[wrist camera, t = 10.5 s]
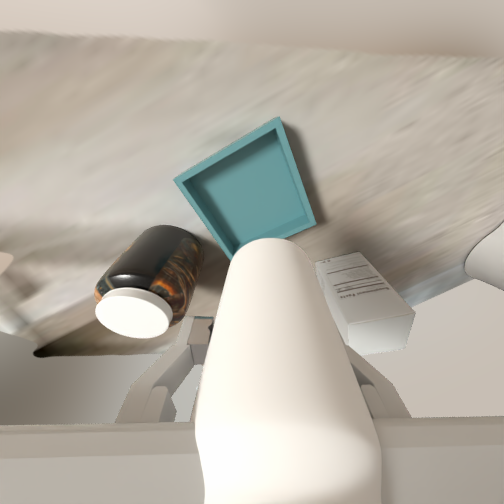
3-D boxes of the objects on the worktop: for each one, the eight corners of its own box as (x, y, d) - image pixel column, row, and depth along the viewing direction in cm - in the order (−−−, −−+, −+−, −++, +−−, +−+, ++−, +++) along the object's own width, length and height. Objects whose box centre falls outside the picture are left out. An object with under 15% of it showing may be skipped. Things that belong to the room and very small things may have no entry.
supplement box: (359, 283, 42) (407, 350, 30) (317, 292, 43) (347, 359, 31) (360, 250, 37) (419, 313, 25) (314, 260, 38) (348, 326, 26)
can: (324, 244, 14) (499, 549, 4) (295, 306, 17) (344, 556, 7) (236, 226, 13) (154, 511, 3) (224, 292, 17) (164, 538, 7)
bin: (274, 117, 25) (279, 116, 22) (308, 213, 33) (316, 224, 29) (181, 172, 28) (172, 179, 25) (232, 248, 36) (230, 261, 33)
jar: (181, 214, 32) (141, 271, 20) (214, 265, 38) (199, 333, 26) (124, 237, 34) (54, 302, 22) (164, 282, 40) (127, 353, 28)
